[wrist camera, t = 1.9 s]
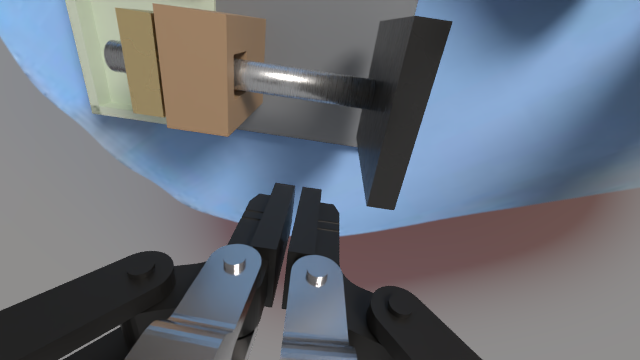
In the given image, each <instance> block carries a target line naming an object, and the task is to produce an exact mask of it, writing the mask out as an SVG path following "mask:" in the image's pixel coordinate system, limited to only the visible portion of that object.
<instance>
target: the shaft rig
mask: <svg viewBox="0 0 640 360" xmlns="http://www.w3.org/2000/svg"><path fill="white" fill-rule="evenodd" d="M65 2H66V6H67V10H68V14H69V18H70V22H71V27H72V31H73V35H74V39H75V43H76V47H77V51H78V55H79V60H80V64H81V68H82V72H83V76H84V80H85V84H86V88H87V93H88V97H89V101H90V105H91V109H92V113H93V114H100V115H106V116H113V117H120V118H127V119H133V120H140V121H147V122H154V123H160V124H167V128H173V129H179V130H186V131H193V132H200V133H206V134H213V135H220V136H227V137H229V136H230V135H231V134H232V133H233V132H234V131H235V130H236V129H239V130H245V131H252V132H259V133H266V134H272V135H279V136H286V137H293V138H299V139H306V140H313V141H319V142H326V143H333V144H340V145H346V146H353V147H357V140H356V135H357V131H358V126H359V121H360V116H361V111H362V109H360V108H353V107H347V106H340V105H333V104H327V103H320V102H313V101H307V100H300V99H293V98H287V97H280V96H273V95H267V94H260V93H253V92H247V91H240V90H234V58H236V59H243V60H250V61H256V62H263V63H269V64H276V65H283V66H289V67H296V68H302V69H309V70H316V71H322V72H329V73H335V74H342V75H349V76H355V77H362V78H368V77H369V72H370V67H371V62H372V57H373V52H374V47H375V43H376V38H377V33H378V28H379V23H380V21H384V20H391V19H397V18H404V17H410V16H414V15H415V11H416V7H417V3H418V0H65ZM115 8H126V9H138V10H149V11H153V13H154V21H155V29H156V38H157V46H158V54H159V62H160V71H161V79H162V87H163V96H164V104H165V112H166V117H164V118H163V117H156V116H149V115H143V114H136V113H133V109H132V103H131V97H130V91H129V86H128V80H127V74H126V73H120V72H115V71H112V70H111V69H110V68H109V67H108V65H107V64H106V61H105V58H104V48H105V45H106V43H107V42H108V41H109V40H118V41H121V40H120V34H119V28H118V23H117V17H116V11H115Z"/></svg>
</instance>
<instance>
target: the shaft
mask: <svg viewBox="0 0 640 360" xmlns="http://www.w3.org/2000/svg"><path fill="white" fill-rule="evenodd" d="M451 25H452V21H445V20H439V19H432V18H426V17H419V16H410V17H404V18H397V19H391V20H384V21H380V23H379V28H378V33H377V38H376V43H375V47H374V52H373V57H372V62H371V67H370V72H369V77H368V78H362V77H355V76H349V75H342V74H335V73H329V72H322V71H316V70H309V69H302V68H296V67H289V66H283V65H276V64H269V63H263V62H256V61H250V60H243V59H236V58H234V90H240V91H247V92H253V93H260V94H267V95H273V96H280V97H287V98H293V99H300V100H307V101H313V102H320V103H327V104H333V105H340V106H347V107H353V108H360V109H362V111H361V116H360V121H359V126H358V131H357V135H356V140H357V147H358V153H359V160H360V166H361V173H362V179H363V186H364V192H365V199H366V205H367V206H369V207H376V208H382V209H389V210H394V209H395V206H396V202H397V199H398V196H399V193H400V190H401V186H402V183H403V180H404V177H405V173H406V170H407V167H408V164H409V160H410V157H411V154H412V151H413V148H414V144H415V141H416V138H417V135H418V131H419V128H420V125H421V122H422V118H423V115H424V112H425V109H426V106H427V102H428V99H429V96H430V93H431V89H432V86H433V83H434V80H435V76H436V73H437V70H438V67H439V64H440V60H441V57H442V54H443V51H444V47H445V44H446V41H447V38H448V34H449V31H450V28H451ZM104 58H105V61H106V64H107V65H108V67H109V68H110V69H111V70H112V71H115V72H120V73H126V69H125V63H124V57H123V51H122V46H121V41H118V40H109V41H108V42H107V43H106V45H105V48H104Z"/></svg>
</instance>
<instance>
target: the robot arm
mask: <svg viewBox="0 0 640 360" xmlns="http://www.w3.org/2000/svg"><path fill="white" fill-rule="evenodd" d="M321 191H322V190H321V189H314V188H307V187H303V188H302V192H301V196H300V201H299V205H298V209H297V214H296V218H295V223H294V227H293V231H292V236H291V240H290V244H289V249H288V255H287V265H286V274H285V283H284V292H283V302H282V309H286V317H285V325H284V333H283V342H282V350H281V357H280V360H482V359H481V358H480V357H479V356H478V355H477V354H476V353H475V352H474V351H473V350H471V349H470V348H469V347H468V346H467V345H466V344H465V343H464V342H463V341H462V340H461V339H460V338H459V337H458V336H457V335H456V334H455V333H454V332H453V331H452V330H450V329H449V328H448V327H447V326H446V325H445V324H444V323H443V322H442V321H441V320H440V319H439V318H438V317H437V316H436V315H435V314H434V313H433V312H432V311H430V310H429V309H428V308H427V307H426V306H425V305H424V304H423V303H422V302H421V301H420V300H419V299H418V298H417V297H415V296H414V295H413V294H412V293H410V292H409V291H407V290H405V289H402V288H399V287H395V286H385V287H381V288H379V289H377V290H376V291H375V292H374V293H372V292H370V291H367V290H365V289H362V288H360V287H358V286H356V285H355V284H353V283H351V282H350V281H349V280H348V279H347V278H346V277H345V276H344V274H343V273H342V271H341V269H340V265H339V212H338V211H337V209H336V207H335V206H334V205H333V204H326V203H320V200H321ZM294 195H295V186H293V185H287V184H280V183H276V184H275V186H274V188H273V191H272V193H271V195H265V194H259V195H257V196H256V197H254V198H253V199H252V200H250V202H249V204H248V206H247V208H246V211H245V212H244V214H243V215H242V218H241V219H240V221H239V223H238V225H237V227H236V229H235V231H234V233H233V235H232V237H231V239H230V241H229V243H228V245H227V246H224V247H221V248H219V249H218V250H216V251H215V252H214V253H213V254H212V255H211V256H210V257H209V259H208V260H207V261H206V262H203V263H198V264H190V265H180V266H174V265H173V261H172V259H171V257H169V256H168V255H167V254H165V253H162V252H157V251H145V252H140V253H136V254H133V255H131V256H128V257H126V258H123V259H121V260H119V261H116V262H114V263H112V264H109V265H107V266H105V267H102V268H100V269H98V270H95V271H93V272H91V273H88V274H86V275H84V276H81V277H79V278H77V279H74V280H72V281H69V282H67V283H65V284H62V285H60V286H58V287H55V288H53V289H51V290H48V291H46V292H44V293H41V294H39V295H37V296H34V297H32V298H30V299H27V300H25V301H23V302H20V303H18V304H16V305H13V306H11V307H9V308H6V309H4V310H1V311H0V360H58V359H60V358H62V357H63V356H65V355H67V354H69V353H71V352H72V351H74V350H76V349H78V348H79V347H81V346H83V345H84V344H86V343H88V342H90V341H92V340H93V339H95V338H97V337H99V336H101V335H102V334H104V333H106V332H108V331H109V330H111V329H113V328H115V327H116V326H118V325H120V327H119V328H117V329H116V330H114V331H112V332H110V333H109V334H107V335H105V336H103V337H102V338H100V339H98V340H97V341H95V342H93V343H91V344H90V345H88V346H86V347H84V348H83V349H81V350H79V351H77V352H75V353H74V354H72V355H70V356H69V357H67V358H65V359H63V360H248V358H249V355H250V352H251V349H252V346H253V343H254V340H255V337H256V334H257V331H258V324H259V321H260V319H261V315H262V311H263V308H264V306H266V307H272V305H273V301H274V297H275V292H276V288H277V284H278V280H279V276H280V271H281V267H282V263H283V259H284V255H285V250H286V246H287V242H288V238H289V234H290V229H291V222H292V213H293V204H294Z"/></svg>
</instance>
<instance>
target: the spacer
mask: <svg viewBox="0 0 640 360" xmlns="http://www.w3.org/2000/svg"><path fill="white" fill-rule="evenodd" d="M115 11H116V17H117V23H118V28H119V34H120V40H121V46H122V51H123V57H124V63H125V69H126V74H127V80H128V86H129V91H130V97H131V103H132V109H133V113H136V114H143V115H149V116H156V117H163V118H164V117H166V112H165V104H164V96H163V87H162V79H161V71H160V62H159V54H158V46H157V38H156V29H155V21H154V13H153V11H149V10H138V9H126V8H115Z"/></svg>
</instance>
